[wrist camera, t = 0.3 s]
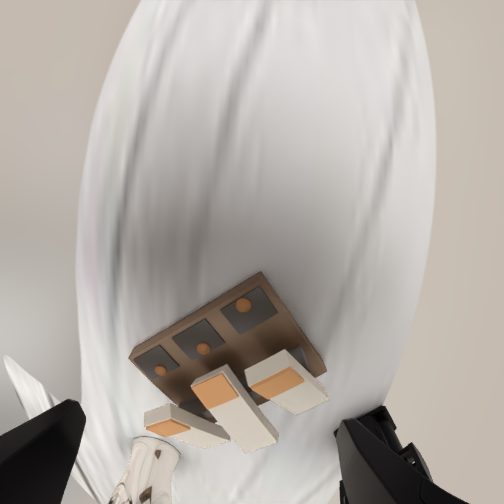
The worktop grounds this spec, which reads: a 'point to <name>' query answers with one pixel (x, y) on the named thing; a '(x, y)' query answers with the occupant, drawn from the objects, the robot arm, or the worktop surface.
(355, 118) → the worktop surface
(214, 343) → the switch unit
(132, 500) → the beer glass
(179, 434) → the far rocker
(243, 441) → the middle rocker
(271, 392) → the near rocker
